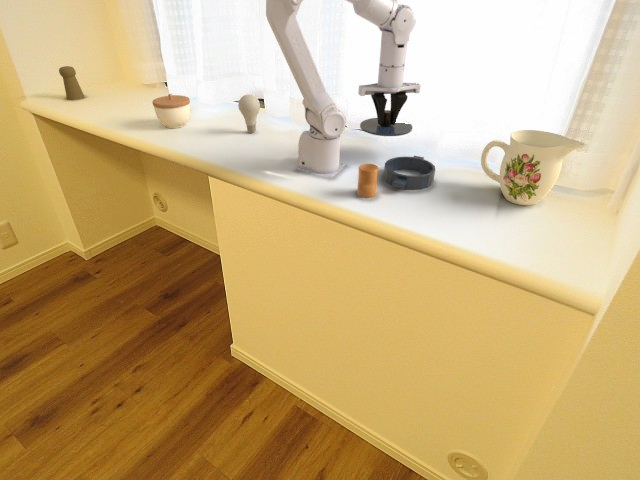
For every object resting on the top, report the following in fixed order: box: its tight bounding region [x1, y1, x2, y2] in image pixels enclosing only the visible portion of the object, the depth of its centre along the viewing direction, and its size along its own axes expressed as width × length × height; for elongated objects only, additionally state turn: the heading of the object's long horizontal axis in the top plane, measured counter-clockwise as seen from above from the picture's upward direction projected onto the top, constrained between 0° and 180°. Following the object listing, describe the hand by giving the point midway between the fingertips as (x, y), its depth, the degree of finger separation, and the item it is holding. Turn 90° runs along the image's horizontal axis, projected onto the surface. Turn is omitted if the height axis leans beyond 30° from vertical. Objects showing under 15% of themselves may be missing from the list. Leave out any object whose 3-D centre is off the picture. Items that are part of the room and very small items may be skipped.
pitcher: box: [480, 129, 587, 206], centre depth 83 cm, size 11×18×14 cm, turn 51°
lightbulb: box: [238, 93, 261, 134], centre depth 118 cm, size 6×6×11 cm
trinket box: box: [152, 93, 192, 129], centre depth 124 cm, size 11×11×9 cm
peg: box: [357, 163, 379, 199], centre depth 86 cm, size 4×4×7 cm
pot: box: [383, 155, 436, 191], centre depth 93 cm, size 11×17×4 cm
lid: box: [359, 109, 413, 137], centre depth 99 cm, size 13×13×4 cm
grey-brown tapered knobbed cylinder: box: [58, 65, 86, 101], centre depth 149 cm, size 6×6×11 cm
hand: (386, 124), depth 100 cm, fingers closed on lid, 2 cm apart
